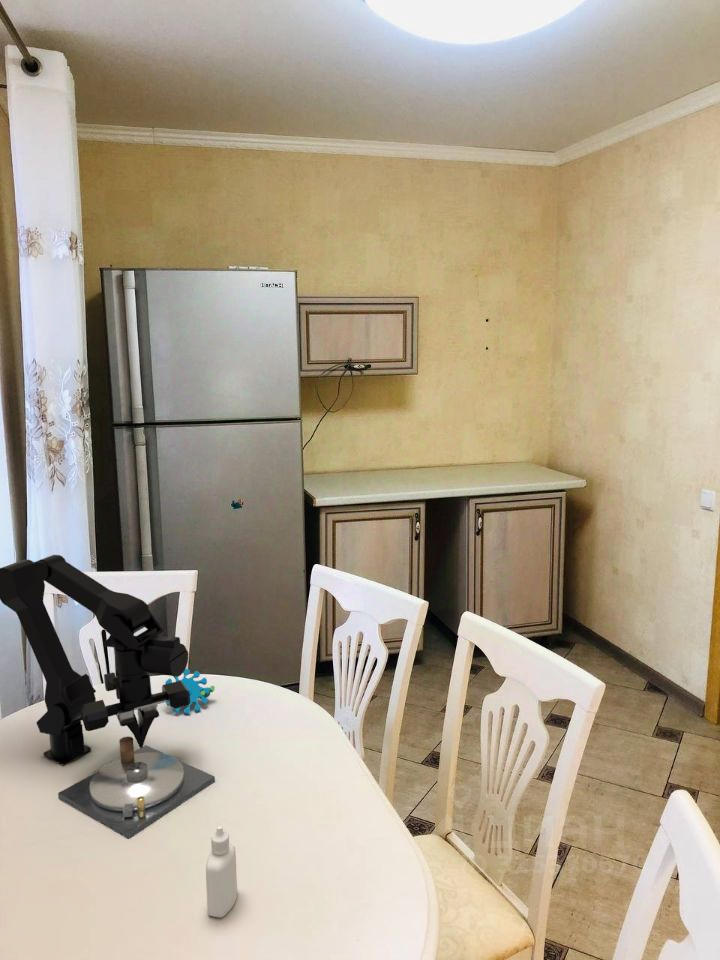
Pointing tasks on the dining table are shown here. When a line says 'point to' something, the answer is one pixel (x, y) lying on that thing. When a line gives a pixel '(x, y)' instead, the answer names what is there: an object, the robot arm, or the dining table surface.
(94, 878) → the dining table surface
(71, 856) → the dining table surface
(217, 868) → the eye dropper bottle
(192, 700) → the gear
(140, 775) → the metal crank wheel
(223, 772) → the dining table surface
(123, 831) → the base
